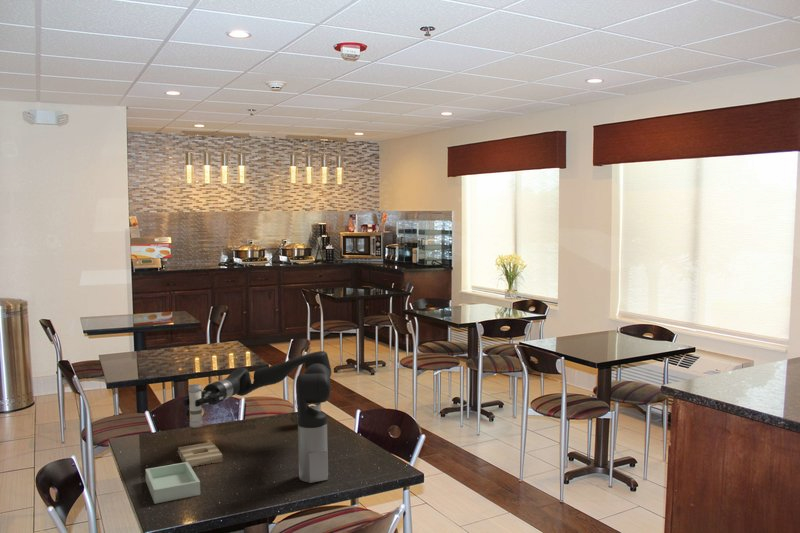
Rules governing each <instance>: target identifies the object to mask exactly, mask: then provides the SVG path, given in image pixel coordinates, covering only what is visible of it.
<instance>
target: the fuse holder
mask: <svg viewBox="0 0 800 533" xmlns="http://www.w3.org/2000/svg"><path fill="white" fill-rule="evenodd" d="M177 451H178V456H179V458H180V459H181V461H182V463H184V462H188V463H189V464H190V466H191V468H193V467H194V466H195V467H199V465H201V466H205V464H206V465H211V463H212V464H216V463H217V464H218V463H222V462H223V454H222V452H221V451H220V450H219V448H218V447H217V446H216V445H215V443H214V442H213V441H211V442H203V443H197V444H192V445H184V446H178V447H177Z"/></svg>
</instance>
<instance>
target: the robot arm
mask: <svg viewBox="0 0 800 533" xmlns="http://www.w3.org/2000/svg"><path fill="white" fill-rule="evenodd" d="M330 363H331V362H330V360H329V356H328V353H327V352H326V351H323V350H321V351H320V350H319V351H314V352H311V353H307V354H304V355H302V356H301V355H300V356H299V357H294V358H292V359H289V360H286V361H284V362H281V363H278V364H274V365H269V366H265V367H260V368H257V369H255V370H254V372H253V381H252V378H251V375H250V372H249V369H247V368H245V367H238V368H236V369H234V370H233V371H232V372H230V373H229V375H228V376H227V377H226V378H224V379H219V380H217V381H214V382H211V383H209V384H207V385H206V386H204V388H203V390H201V398H200V399H198V400H196V401H195V406H196V407H198V406H201V405H202V406H203V405H216V404H219V403H221V402H224V401H225V400H227V399H229V398H230V397H233V396H235V395H237V396H240V397H243V396H246V395H248V394H249V393H251V392H253V391H255V390H257V389H260V388H263V387H268V386H272V385H275V384H278V383H280V382H282V381H283V380H284V379H286V377H288V375H289V374H291V372H292V371H294V370H295V369H296V368H297V367H299V366H301V365H304V367H305V371H304V373H300V374H299V375H298V376H297V377H296V381H295V390H296V398H297V399H296V406H297V408H298V409H297V436H298V437H297V443H298V444H297V445H298V451H297V452H298V478H299V480H300V481H302V482H305V483H308V484H313V483H317V482H323V481H327V480H328V479H329V459H328V458H329V456H328V454H329V452H328V417H327V415H326V413H325V412H322V411H321V412H320V411H317V410H314V409H312V408H311V407H309V405H308V404H307V403H325V402H327V401H328V400H329V399H330V397H331V391H332V386H331V376H332V368H331V364H330ZM183 406H184V407H187V406H189V393H187V395H185V398H184V399H183Z"/></svg>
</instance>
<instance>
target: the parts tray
mask: <svg viewBox="0 0 800 533" xmlns="http://www.w3.org/2000/svg"><path fill="white" fill-rule="evenodd" d="M145 483H146V485H147V488H148V490H149V494H150V495H151V498H152V501H153V504H159V503H160V504H161V503H166V502H170V501H176V500H181V499H185V498H191V497H196V496H201V481H200V479H199V477H198V476H197V474H196V472H195V471H194V469H193V467H191V466H190V464H189V463H188V462H184V463H183V462H180V463H179V462H178V463H173V464H169V465H162V466H161V465H160V466H157V467H156V466H155V467H150V468H149V467H148V468H145Z"/></svg>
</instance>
